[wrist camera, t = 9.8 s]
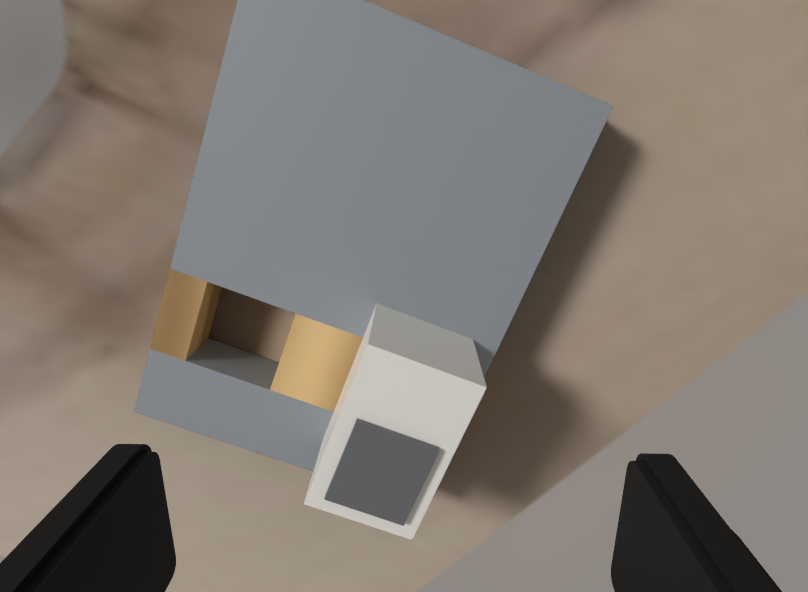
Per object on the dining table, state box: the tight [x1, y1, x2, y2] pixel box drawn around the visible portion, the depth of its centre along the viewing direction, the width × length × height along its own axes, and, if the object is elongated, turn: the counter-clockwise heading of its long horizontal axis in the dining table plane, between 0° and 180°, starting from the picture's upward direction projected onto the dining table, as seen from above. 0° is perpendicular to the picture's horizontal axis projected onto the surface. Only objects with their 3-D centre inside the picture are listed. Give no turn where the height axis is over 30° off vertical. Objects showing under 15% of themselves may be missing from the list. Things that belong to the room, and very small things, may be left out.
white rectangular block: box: [304, 304, 487, 540], centre depth 24 cm, size 5×8×5 cm, turn 159°
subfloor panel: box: [134, 0, 613, 471], centre depth 26 cm, size 16×22×3 cm
